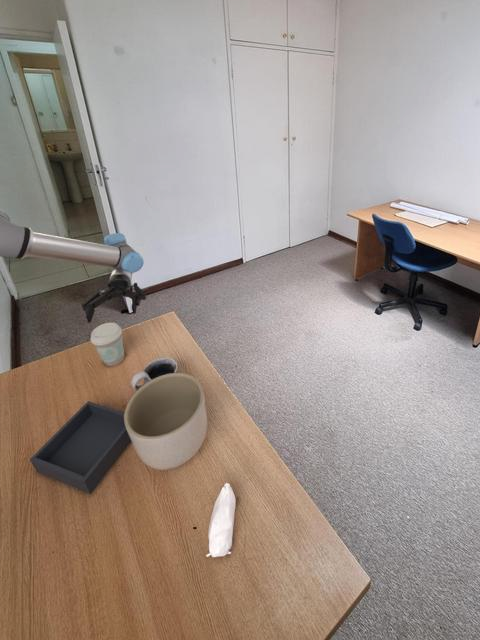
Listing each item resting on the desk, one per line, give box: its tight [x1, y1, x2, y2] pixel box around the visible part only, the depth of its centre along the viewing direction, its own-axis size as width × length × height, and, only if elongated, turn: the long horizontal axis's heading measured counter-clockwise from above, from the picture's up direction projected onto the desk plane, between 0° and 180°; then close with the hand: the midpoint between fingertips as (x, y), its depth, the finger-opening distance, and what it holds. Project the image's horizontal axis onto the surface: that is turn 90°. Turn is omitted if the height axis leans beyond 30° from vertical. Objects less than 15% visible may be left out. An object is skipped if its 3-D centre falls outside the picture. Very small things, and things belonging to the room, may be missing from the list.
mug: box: [130, 357, 179, 392], centre depth 93 cm, size 10×12×10 cm
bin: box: [29, 400, 132, 495], centre depth 79 cm, size 16×16×5 cm
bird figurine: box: [205, 482, 237, 558], centre depth 65 cm, size 5×7×10 cm
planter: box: [124, 372, 208, 471], centre depth 78 cm, size 17×17×15 cm
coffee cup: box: [90, 322, 125, 367], centre depth 103 cm, size 8×8×12 cm
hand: (111, 314), depth 109 cm, fingers open, 13 cm apart
